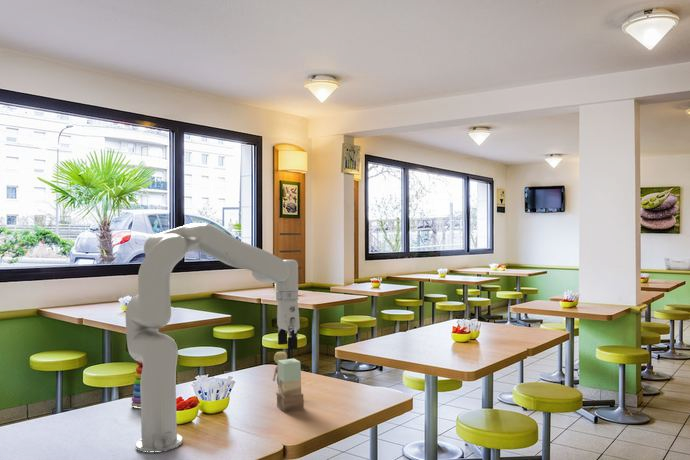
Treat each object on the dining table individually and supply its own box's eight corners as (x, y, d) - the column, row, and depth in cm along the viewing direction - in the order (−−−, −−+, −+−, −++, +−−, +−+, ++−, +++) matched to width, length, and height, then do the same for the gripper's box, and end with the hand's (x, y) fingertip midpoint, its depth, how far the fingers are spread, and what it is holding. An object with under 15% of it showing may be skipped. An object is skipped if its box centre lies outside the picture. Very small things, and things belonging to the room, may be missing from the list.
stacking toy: (150, 409, 190) (149, 354, 190) (127, 410, 190) (126, 355, 190) (158, 402, 198) (157, 350, 198) (136, 403, 198) (135, 350, 198)
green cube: (300, 379, 187) (300, 361, 187) (284, 382, 184) (283, 364, 184) (294, 375, 192) (293, 358, 192) (277, 378, 190) (277, 360, 190)
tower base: (303, 409, 187) (303, 394, 187) (284, 412, 184) (283, 397, 184) (296, 403, 193) (295, 389, 193) (277, 407, 190) (276, 392, 190)
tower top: (301, 394, 187) (301, 379, 187) (284, 396, 184) (283, 381, 184) (295, 390, 192) (295, 375, 192) (278, 392, 190) (278, 377, 190)
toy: (291, 390, 210) (290, 350, 210) (288, 393, 205) (288, 353, 205) (274, 389, 210) (273, 350, 211) (271, 393, 206) (270, 353, 206)
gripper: (307, 297, 182) (307, 350, 182) (288, 293, 198) (289, 341, 197) (285, 298, 179) (285, 352, 179) (268, 294, 194) (268, 343, 194)
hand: (287, 346), depth 188 cm, fingers open, 9 cm apart
